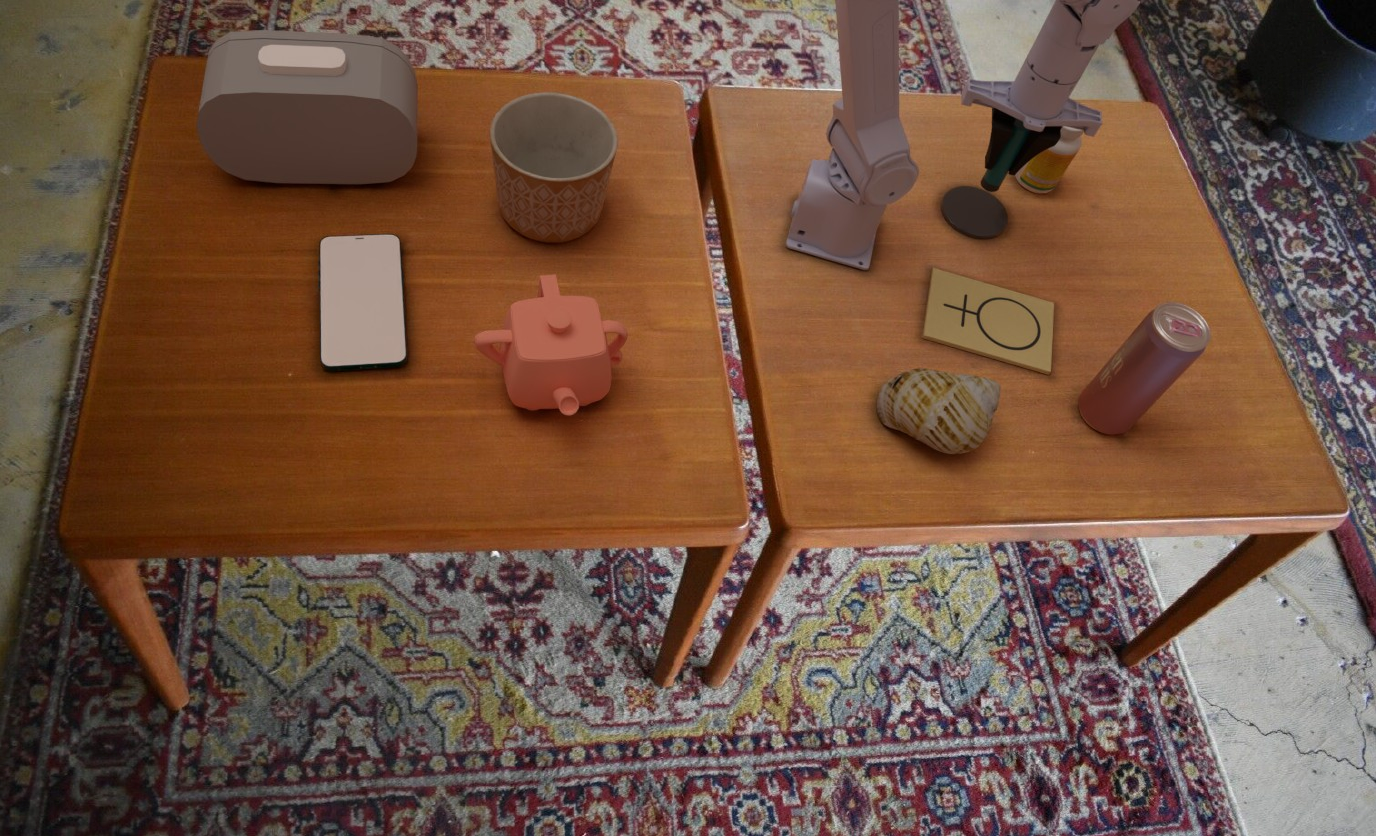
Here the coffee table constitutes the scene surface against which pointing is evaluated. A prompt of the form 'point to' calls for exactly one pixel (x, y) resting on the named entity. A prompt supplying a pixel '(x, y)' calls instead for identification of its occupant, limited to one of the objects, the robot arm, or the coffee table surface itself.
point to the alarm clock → (309, 108)
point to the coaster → (974, 212)
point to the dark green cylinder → (1005, 158)
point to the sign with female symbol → (989, 321)
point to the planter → (552, 164)
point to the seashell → (940, 408)
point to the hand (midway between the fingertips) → (999, 166)
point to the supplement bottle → (1050, 163)
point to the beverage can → (1144, 367)
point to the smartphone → (361, 302)
